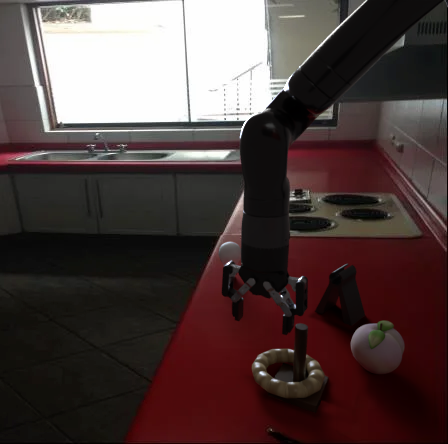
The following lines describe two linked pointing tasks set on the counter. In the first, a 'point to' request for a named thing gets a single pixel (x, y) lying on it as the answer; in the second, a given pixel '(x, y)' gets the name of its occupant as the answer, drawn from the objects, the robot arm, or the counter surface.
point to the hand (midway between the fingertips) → (261, 325)
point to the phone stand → (343, 295)
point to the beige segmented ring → (287, 388)
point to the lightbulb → (229, 253)
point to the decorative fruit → (378, 347)
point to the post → (299, 372)
